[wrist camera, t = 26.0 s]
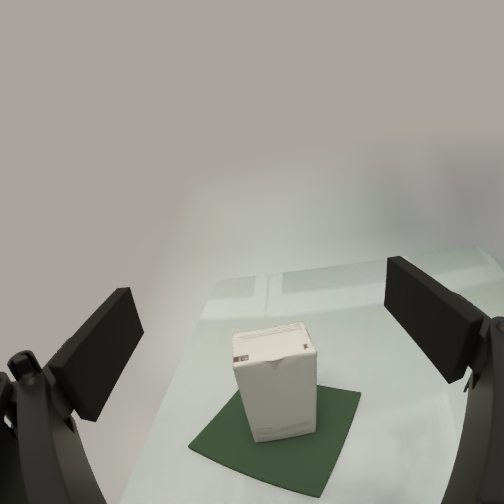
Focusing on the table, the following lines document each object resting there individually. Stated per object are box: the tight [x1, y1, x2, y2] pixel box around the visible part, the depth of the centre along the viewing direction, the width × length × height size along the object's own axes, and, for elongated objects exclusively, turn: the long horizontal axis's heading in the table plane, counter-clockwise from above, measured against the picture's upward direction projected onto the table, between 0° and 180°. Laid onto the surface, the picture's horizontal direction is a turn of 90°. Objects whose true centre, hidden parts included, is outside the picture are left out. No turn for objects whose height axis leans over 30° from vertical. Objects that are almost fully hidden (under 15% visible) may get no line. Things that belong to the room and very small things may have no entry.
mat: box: [188, 385, 361, 498], centre depth 31 cm, size 18×18×1 cm
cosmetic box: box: [233, 322, 317, 443], centre depth 29 cm, size 8×6×15 cm
